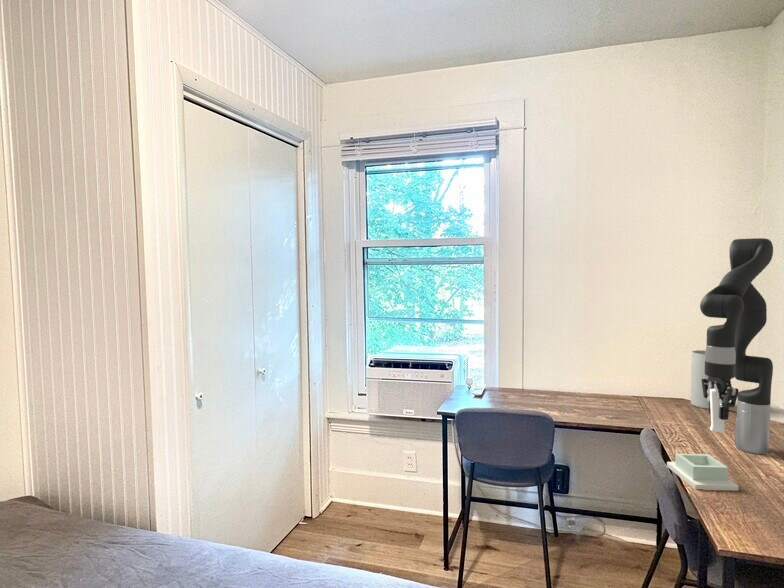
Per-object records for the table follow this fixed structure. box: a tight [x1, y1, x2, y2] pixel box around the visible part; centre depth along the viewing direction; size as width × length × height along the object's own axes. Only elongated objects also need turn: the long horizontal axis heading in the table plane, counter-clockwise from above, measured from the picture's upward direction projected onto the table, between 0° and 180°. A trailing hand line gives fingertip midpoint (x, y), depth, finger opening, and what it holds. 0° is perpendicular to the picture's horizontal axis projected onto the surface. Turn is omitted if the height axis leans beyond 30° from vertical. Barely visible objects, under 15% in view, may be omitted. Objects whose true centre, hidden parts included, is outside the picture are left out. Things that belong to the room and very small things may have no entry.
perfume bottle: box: [709, 388, 726, 434], centre depth 141 cm, size 5×4×15 cm
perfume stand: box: [666, 453, 740, 492], centre depth 143 cm, size 16×12×6 cm
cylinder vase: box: [690, 349, 709, 410], centre depth 215 cm, size 12×12×25 cm
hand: (718, 416), depth 140 cm, fingers closed on perfume bottle, 4 cm apart
